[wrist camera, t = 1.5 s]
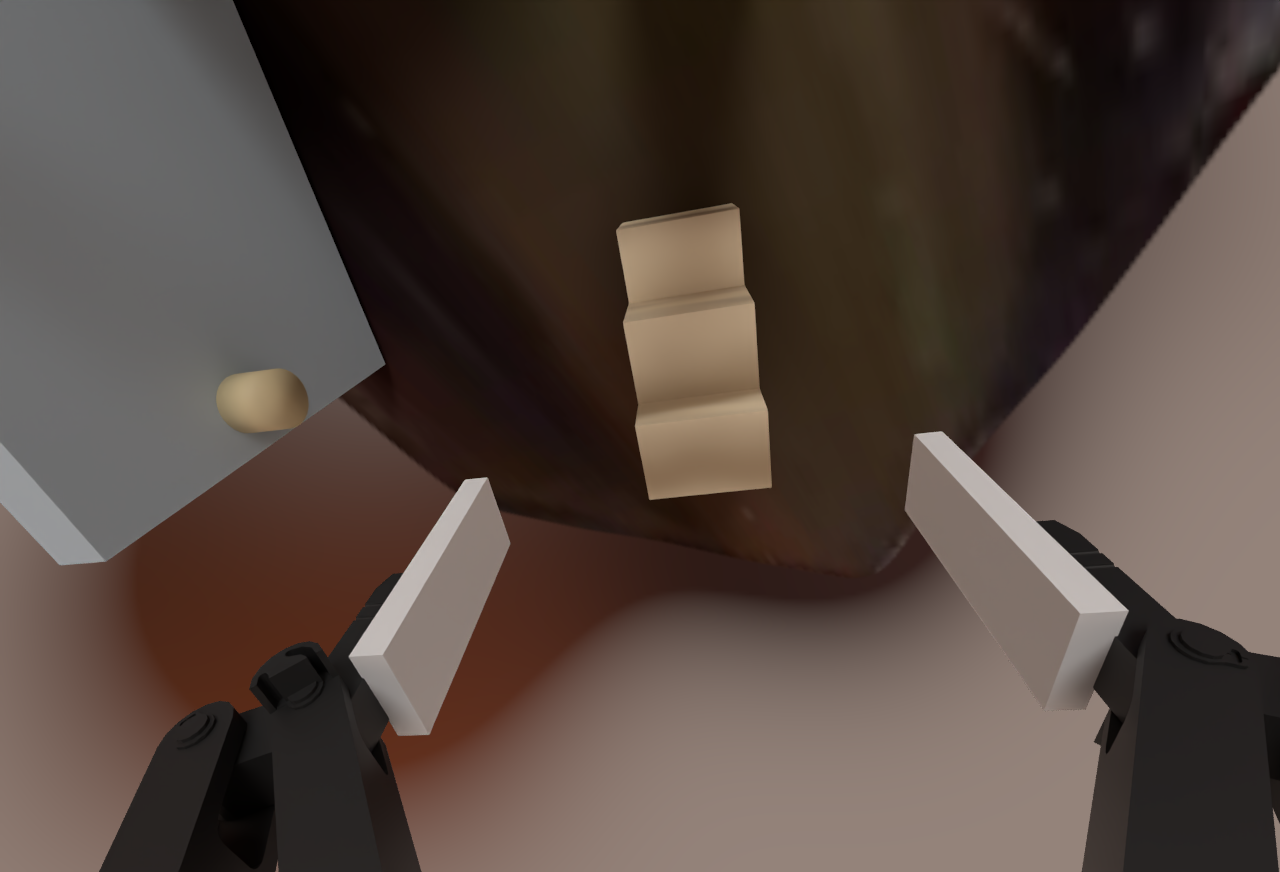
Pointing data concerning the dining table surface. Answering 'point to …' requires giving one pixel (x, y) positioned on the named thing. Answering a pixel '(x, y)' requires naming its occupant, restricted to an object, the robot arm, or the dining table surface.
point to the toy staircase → (694, 354)
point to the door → (152, 268)
